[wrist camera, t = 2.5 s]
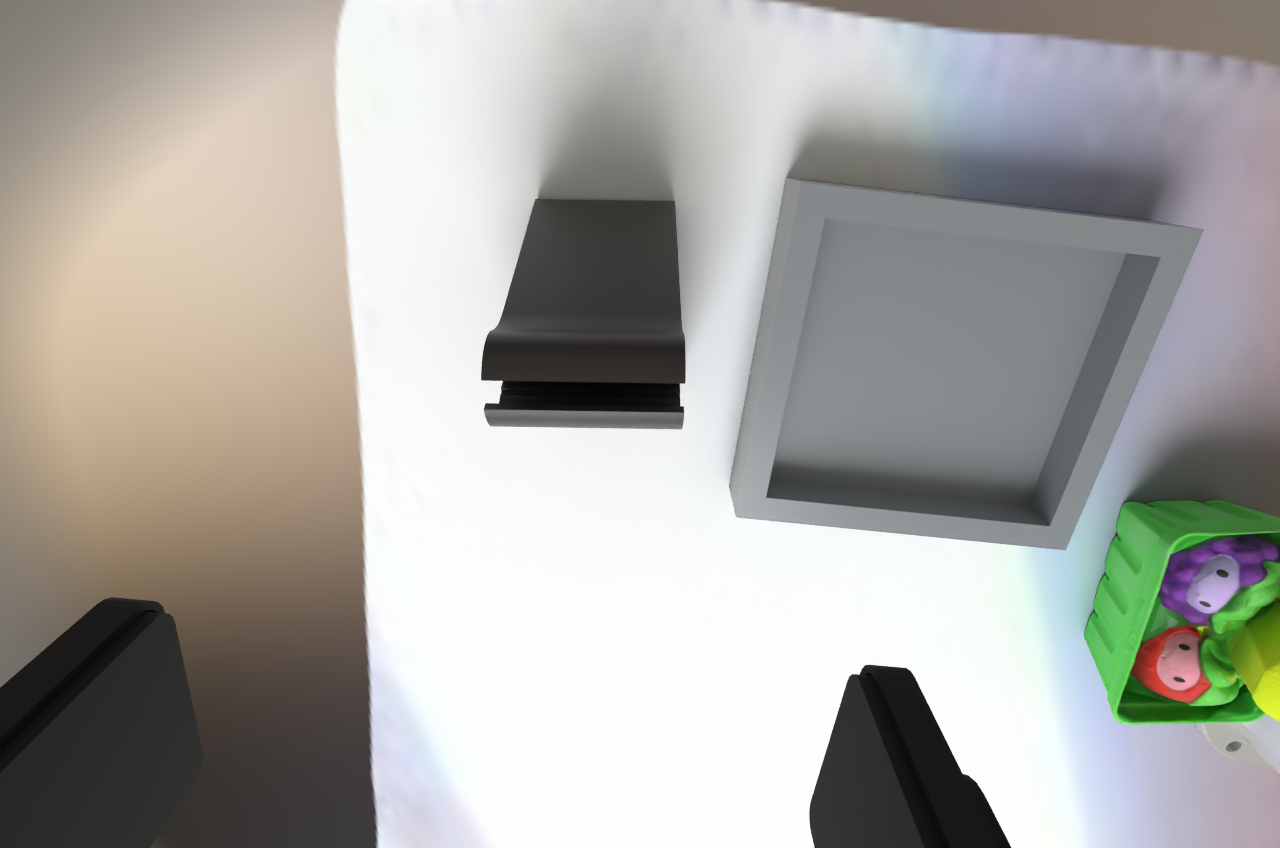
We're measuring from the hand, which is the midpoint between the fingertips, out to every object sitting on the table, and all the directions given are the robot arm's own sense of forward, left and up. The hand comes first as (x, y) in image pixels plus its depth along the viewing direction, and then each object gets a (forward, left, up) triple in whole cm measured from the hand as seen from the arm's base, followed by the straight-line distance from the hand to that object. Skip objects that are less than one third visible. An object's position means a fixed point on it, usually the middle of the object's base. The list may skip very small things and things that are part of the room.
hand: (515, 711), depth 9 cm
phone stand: (0, 0, -24) cm, 24 cm away
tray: (-15, +1, -23) cm, 28 cm away
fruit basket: (-31, +11, -24) cm, 40 cm away
